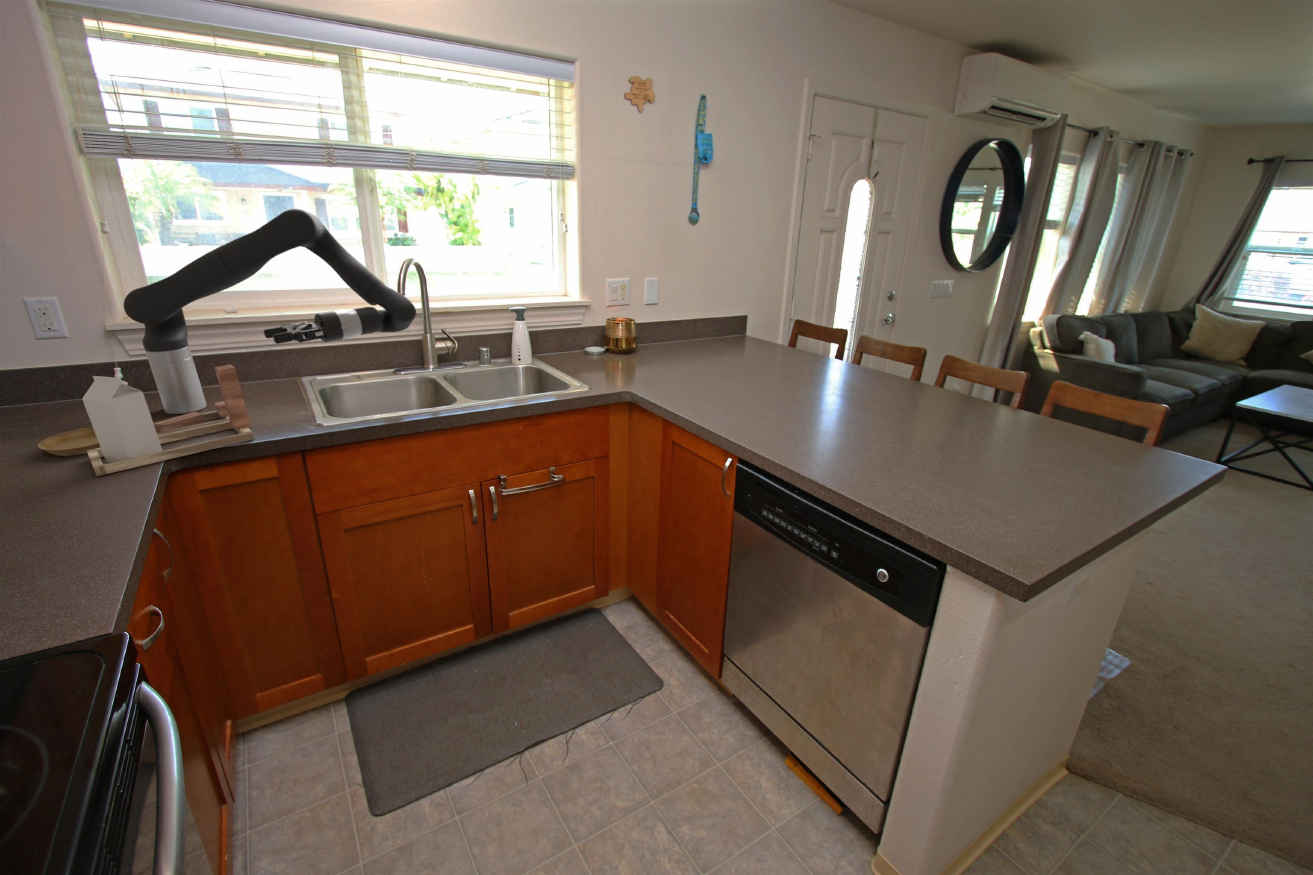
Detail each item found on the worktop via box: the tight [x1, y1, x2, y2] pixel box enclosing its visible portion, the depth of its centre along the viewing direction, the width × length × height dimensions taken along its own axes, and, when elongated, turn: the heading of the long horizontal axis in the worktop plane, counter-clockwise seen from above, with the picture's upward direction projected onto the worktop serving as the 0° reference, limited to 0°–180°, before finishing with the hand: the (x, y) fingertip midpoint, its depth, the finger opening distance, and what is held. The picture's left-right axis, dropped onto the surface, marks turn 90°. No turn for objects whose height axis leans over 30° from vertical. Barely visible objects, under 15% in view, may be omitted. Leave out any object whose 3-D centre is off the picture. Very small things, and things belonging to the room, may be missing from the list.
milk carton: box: [82, 375, 163, 464], centre depth 128 cm, size 7×7×19 cm
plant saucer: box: [37, 426, 101, 457], centre depth 137 cm, size 15×15×3 cm
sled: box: [86, 364, 255, 477], centre depth 133 cm, size 13×30×17 cm, turn 137°
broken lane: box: [153, 400, 229, 435], centre depth 147 cm, size 10×21×5 cm, turn 137°
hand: (269, 336), depth 143 cm, fingers open, 8 cm apart
